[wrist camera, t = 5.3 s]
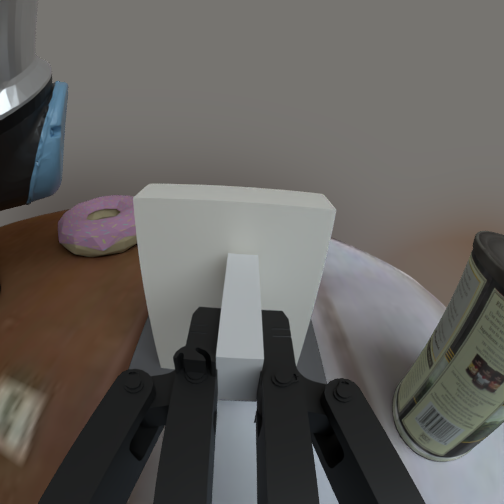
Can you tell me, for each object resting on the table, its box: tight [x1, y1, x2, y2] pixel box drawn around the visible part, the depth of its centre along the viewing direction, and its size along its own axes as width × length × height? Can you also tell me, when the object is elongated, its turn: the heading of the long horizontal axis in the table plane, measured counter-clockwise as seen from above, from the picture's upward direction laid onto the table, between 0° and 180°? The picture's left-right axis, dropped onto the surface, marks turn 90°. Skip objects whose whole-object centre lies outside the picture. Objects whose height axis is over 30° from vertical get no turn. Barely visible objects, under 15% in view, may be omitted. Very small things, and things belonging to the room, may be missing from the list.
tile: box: [133, 184, 336, 369], centre depth 17 cm, size 10×3×13 cm, turn 91°
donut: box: [58, 195, 137, 257], centre depth 37 cm, size 16×15×5 cm
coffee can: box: [393, 231, 504, 461], centre depth 13 cm, size 10×10×14 cm
